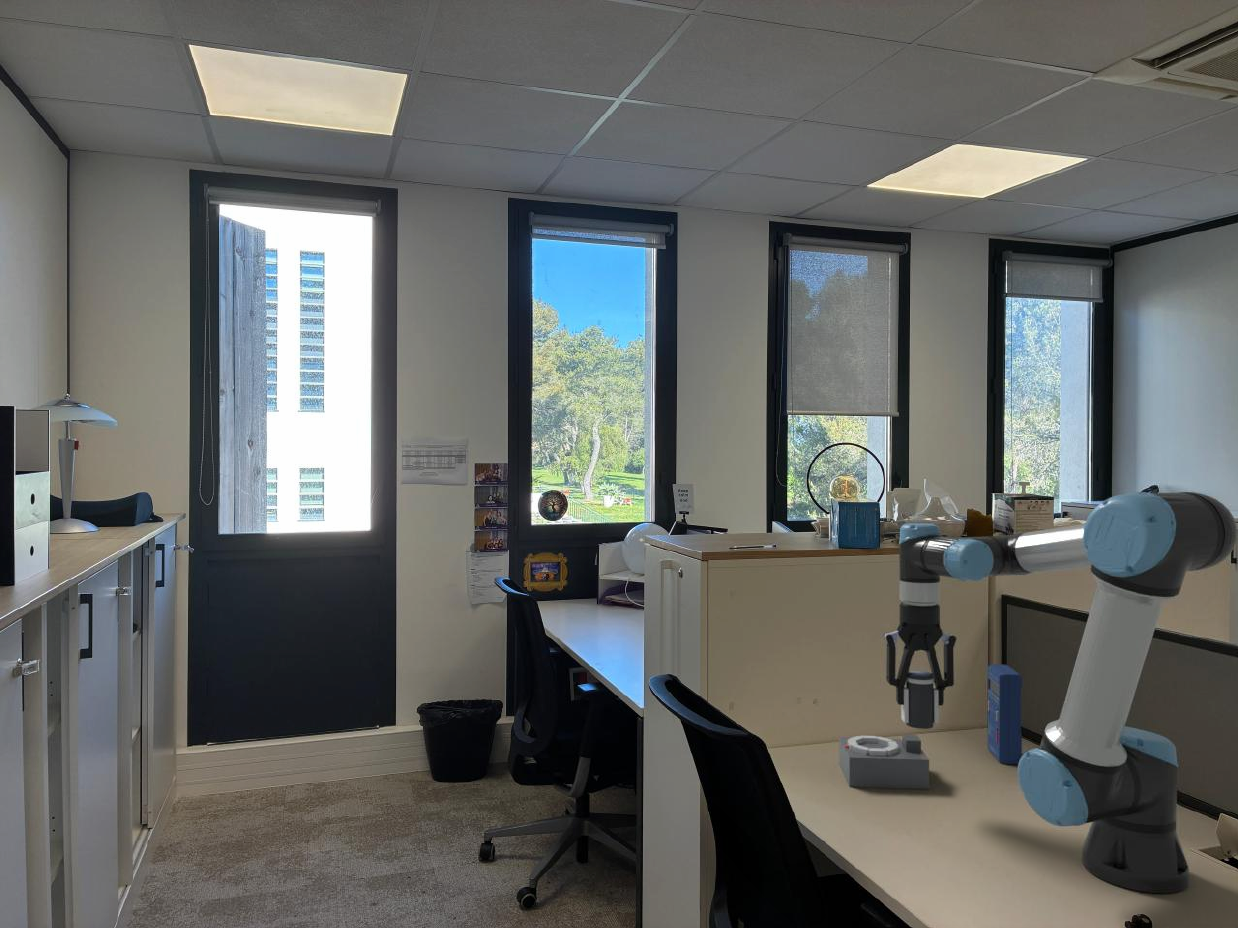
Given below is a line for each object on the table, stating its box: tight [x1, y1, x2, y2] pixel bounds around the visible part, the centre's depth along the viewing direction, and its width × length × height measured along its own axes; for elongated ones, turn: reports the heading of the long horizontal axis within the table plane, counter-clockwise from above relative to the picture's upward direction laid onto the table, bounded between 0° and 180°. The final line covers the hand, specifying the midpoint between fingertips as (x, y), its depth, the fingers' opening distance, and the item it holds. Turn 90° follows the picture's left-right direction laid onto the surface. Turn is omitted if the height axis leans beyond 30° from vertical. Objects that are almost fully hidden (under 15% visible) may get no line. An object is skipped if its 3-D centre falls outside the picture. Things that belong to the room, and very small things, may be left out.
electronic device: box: [987, 664, 1023, 766], centre depth 199 cm, size 10×5×20 cm, turn 173°
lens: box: [905, 670, 935, 730], centre depth 172 cm, size 5×5×10 cm
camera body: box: [838, 734, 930, 790], centre depth 187 cm, size 13×16×8 cm
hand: (919, 720), depth 172 cm, fingers closed on lens, 5 cm apart
